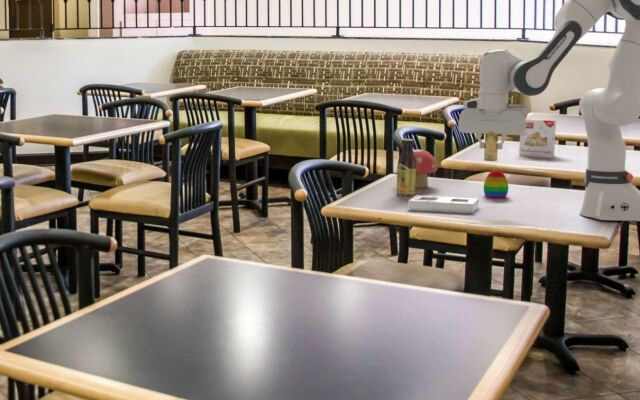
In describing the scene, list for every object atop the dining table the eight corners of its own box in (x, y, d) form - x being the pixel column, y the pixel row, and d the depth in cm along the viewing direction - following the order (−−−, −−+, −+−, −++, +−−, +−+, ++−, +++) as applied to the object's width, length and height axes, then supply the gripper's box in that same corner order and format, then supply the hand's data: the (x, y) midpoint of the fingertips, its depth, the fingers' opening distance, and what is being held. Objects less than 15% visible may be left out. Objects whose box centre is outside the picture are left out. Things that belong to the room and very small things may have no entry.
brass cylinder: (497, 160, 287) (499, 131, 286) (496, 161, 283) (497, 131, 282) (484, 159, 288) (486, 130, 287) (483, 160, 284) (484, 131, 283)
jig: (478, 207, 295) (478, 198, 295) (472, 213, 284) (473, 204, 283) (416, 204, 301) (416, 195, 300) (408, 210, 290) (408, 200, 289)
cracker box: (518, 168, 397) (520, 119, 394) (521, 166, 403) (522, 118, 399) (551, 170, 392) (553, 120, 388) (553, 168, 397) (556, 119, 394)
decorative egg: (502, 201, 307) (503, 171, 306) (479, 199, 312) (480, 169, 310) (511, 198, 314) (512, 169, 313) (488, 196, 319) (489, 167, 317)
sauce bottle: (393, 197, 316) (394, 138, 313) (410, 196, 318) (411, 138, 315) (401, 199, 310) (402, 140, 307) (418, 199, 312) (419, 139, 309)
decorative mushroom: (390, 191, 328) (391, 149, 326) (415, 188, 337) (416, 146, 335) (420, 196, 319) (421, 152, 316) (444, 192, 328) (445, 149, 325)
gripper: (528, 103, 283) (526, 149, 285) (461, 101, 289) (459, 146, 291) (527, 104, 277) (524, 151, 279) (458, 102, 283) (456, 148, 285)
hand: (491, 148), depth 285 cm, fingers closed on brass cylinder, 4 cm apart
